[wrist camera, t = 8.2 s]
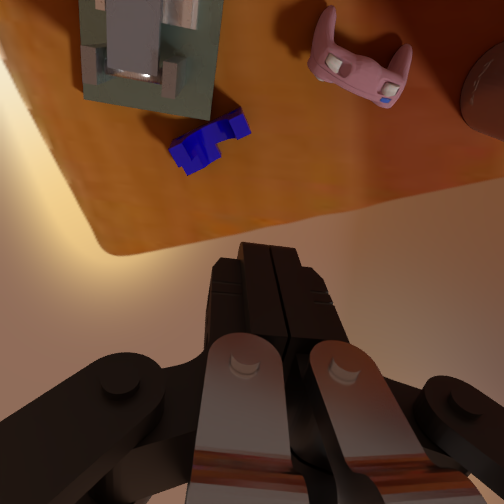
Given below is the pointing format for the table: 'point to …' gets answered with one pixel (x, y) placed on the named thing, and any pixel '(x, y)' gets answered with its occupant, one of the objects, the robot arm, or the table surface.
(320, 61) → the video game controller
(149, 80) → the flat rectangular panel
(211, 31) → the grey stand with posts
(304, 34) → the table surface
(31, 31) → the table surface
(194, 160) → the cable holder
